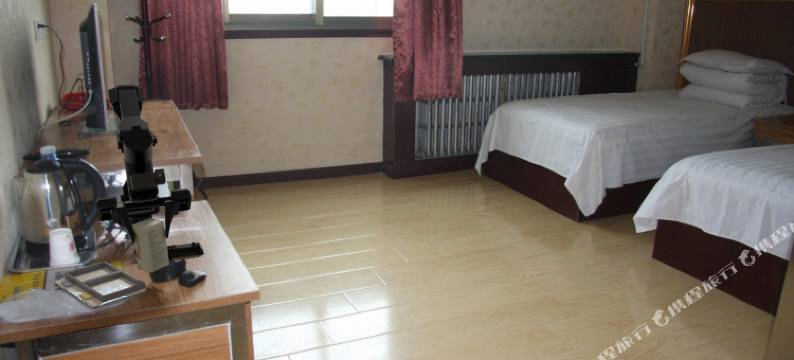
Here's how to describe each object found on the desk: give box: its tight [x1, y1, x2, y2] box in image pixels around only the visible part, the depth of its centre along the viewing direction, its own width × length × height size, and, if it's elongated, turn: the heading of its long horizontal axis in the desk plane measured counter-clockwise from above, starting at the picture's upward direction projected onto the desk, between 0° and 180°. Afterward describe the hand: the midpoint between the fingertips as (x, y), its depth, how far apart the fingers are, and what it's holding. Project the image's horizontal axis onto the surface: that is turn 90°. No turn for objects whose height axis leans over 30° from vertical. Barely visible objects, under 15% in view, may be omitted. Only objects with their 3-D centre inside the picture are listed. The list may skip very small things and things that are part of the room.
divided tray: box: [54, 260, 147, 309], centre depth 133 cm, size 18×11×2 cm, turn 49°
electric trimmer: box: [133, 241, 205, 258], centre depth 150 cm, size 4×16×3 cm, turn 110°
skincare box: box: [132, 217, 170, 274], centre depth 132 cm, size 5×4×10 cm
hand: (150, 239), depth 131 cm, fingers closed on skincare box, 6 cm apart
